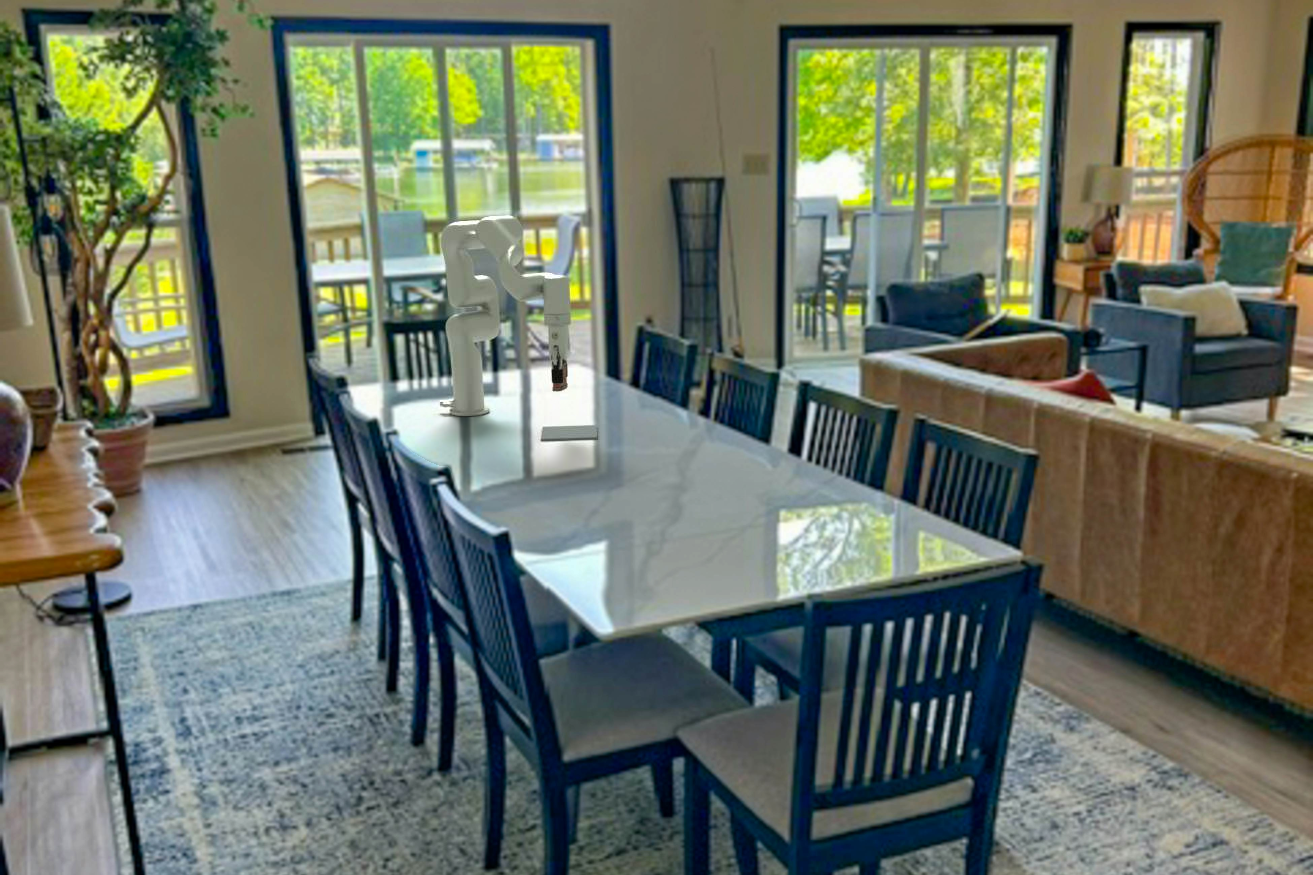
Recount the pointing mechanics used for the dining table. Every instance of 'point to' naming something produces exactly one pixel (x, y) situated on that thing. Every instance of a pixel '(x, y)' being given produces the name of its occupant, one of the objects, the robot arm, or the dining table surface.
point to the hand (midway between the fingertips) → (559, 379)
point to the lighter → (563, 385)
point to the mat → (569, 433)
